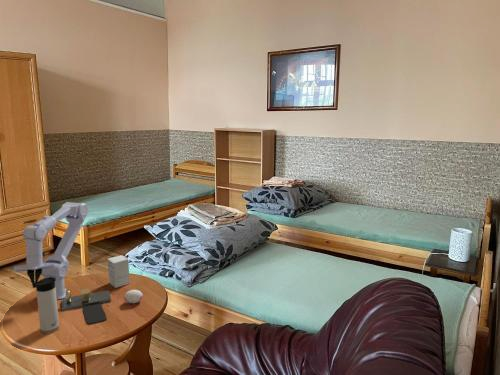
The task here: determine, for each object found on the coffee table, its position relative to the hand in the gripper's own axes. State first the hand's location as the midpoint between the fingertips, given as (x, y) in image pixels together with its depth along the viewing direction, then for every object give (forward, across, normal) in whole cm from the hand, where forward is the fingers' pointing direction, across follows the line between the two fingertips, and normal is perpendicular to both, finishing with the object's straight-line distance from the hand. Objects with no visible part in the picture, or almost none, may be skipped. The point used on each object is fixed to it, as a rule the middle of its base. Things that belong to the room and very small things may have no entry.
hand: (34, 287), depth 157 cm
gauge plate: (+8, +20, -2) cm, 21 cm away
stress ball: (+8, +38, -11) cm, 40 cm away
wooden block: (+7, +19, -2) cm, 20 cm away
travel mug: (+11, +6, -18) cm, 22 cm away
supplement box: (+6, +35, +10) cm, 37 cm away
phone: (+10, +22, -14) cm, 28 cm away
